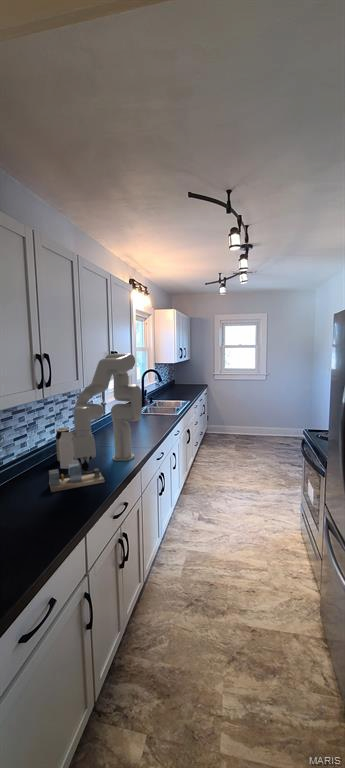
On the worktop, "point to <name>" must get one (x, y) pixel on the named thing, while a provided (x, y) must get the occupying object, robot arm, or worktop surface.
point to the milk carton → (66, 450)
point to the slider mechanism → (65, 483)
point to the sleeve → (75, 472)
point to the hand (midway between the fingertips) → (85, 470)
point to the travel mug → (59, 438)
